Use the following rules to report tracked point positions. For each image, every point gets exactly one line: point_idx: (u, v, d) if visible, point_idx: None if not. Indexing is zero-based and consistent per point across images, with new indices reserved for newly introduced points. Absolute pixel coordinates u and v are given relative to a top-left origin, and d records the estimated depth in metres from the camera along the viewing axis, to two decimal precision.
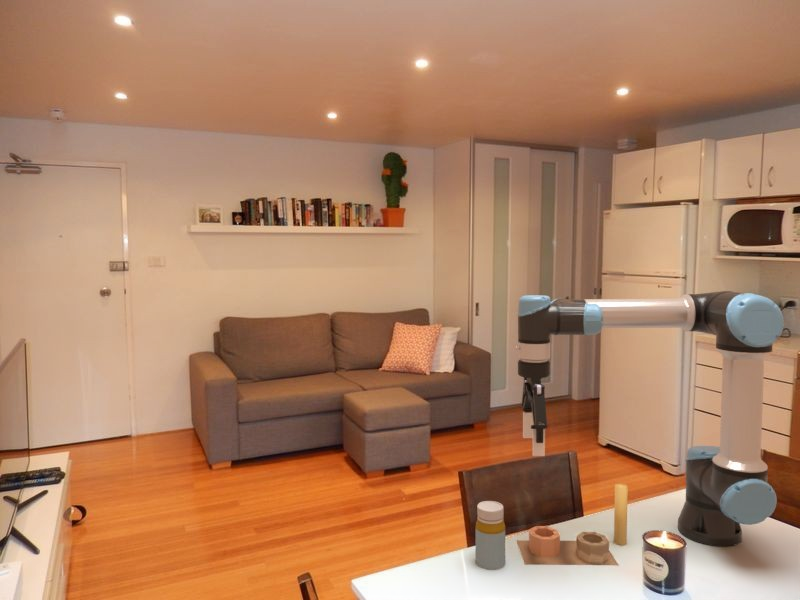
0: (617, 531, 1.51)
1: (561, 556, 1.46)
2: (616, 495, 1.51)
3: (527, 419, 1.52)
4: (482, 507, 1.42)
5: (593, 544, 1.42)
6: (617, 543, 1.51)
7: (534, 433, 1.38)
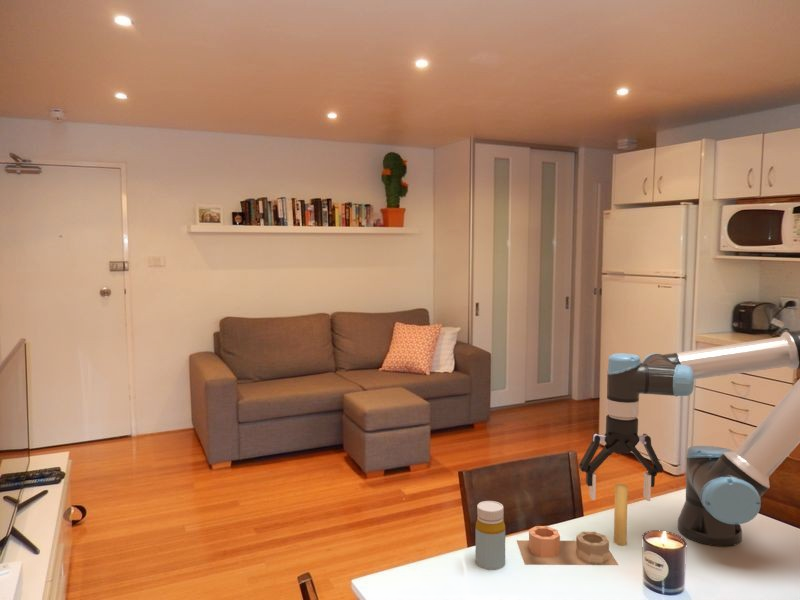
0: (617, 531, 1.51)
1: (561, 556, 1.46)
2: (616, 495, 1.51)
3: (645, 479, 1.51)
4: (482, 507, 1.42)
5: (593, 544, 1.42)
6: (617, 543, 1.51)
7: None
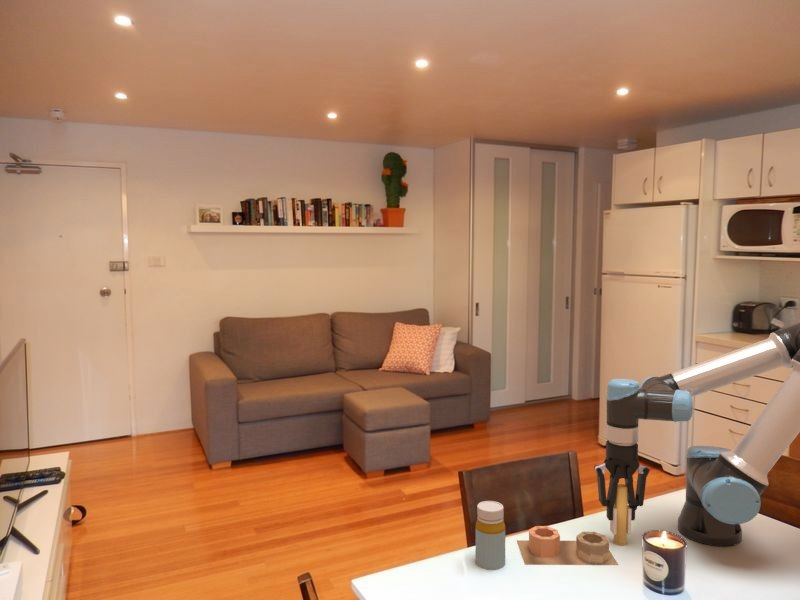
0: (617, 531, 1.51)
1: (561, 556, 1.46)
2: (616, 495, 1.51)
3: None
4: (482, 507, 1.42)
5: (593, 544, 1.42)
6: (617, 543, 1.51)
7: None
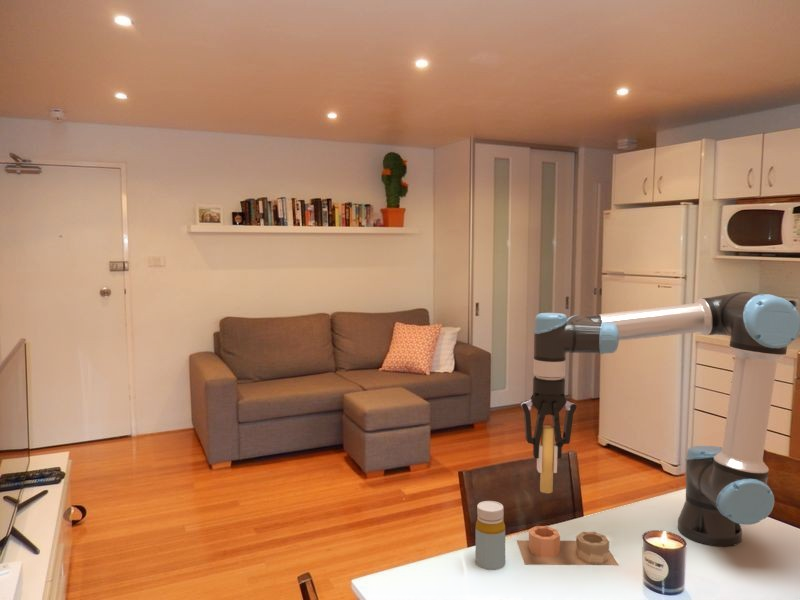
0: (543, 474, 1.47)
1: (561, 556, 1.46)
2: (542, 436, 1.47)
3: None
4: (482, 507, 1.42)
5: (593, 544, 1.42)
6: (543, 486, 1.47)
7: None
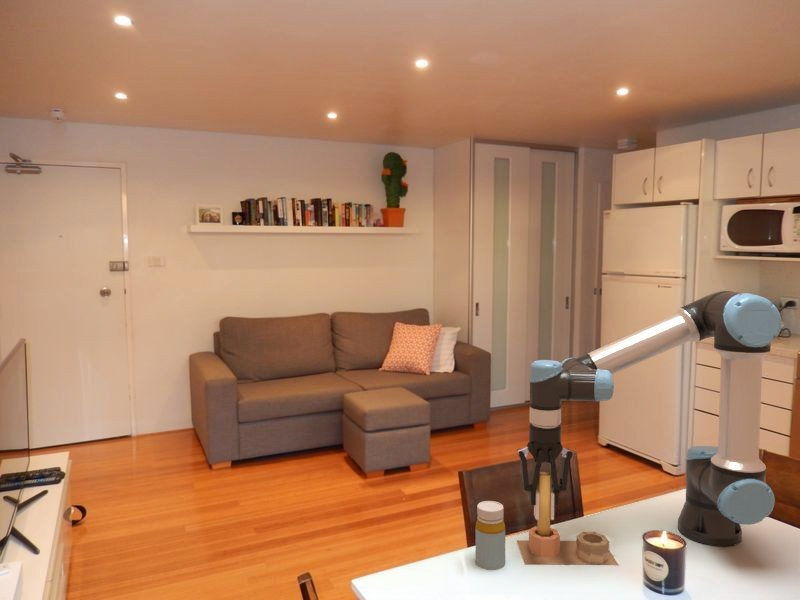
0: (540, 520, 1.47)
1: (561, 556, 1.46)
2: (539, 483, 1.47)
3: None
4: (482, 507, 1.42)
5: (593, 544, 1.42)
6: (540, 533, 1.48)
7: None
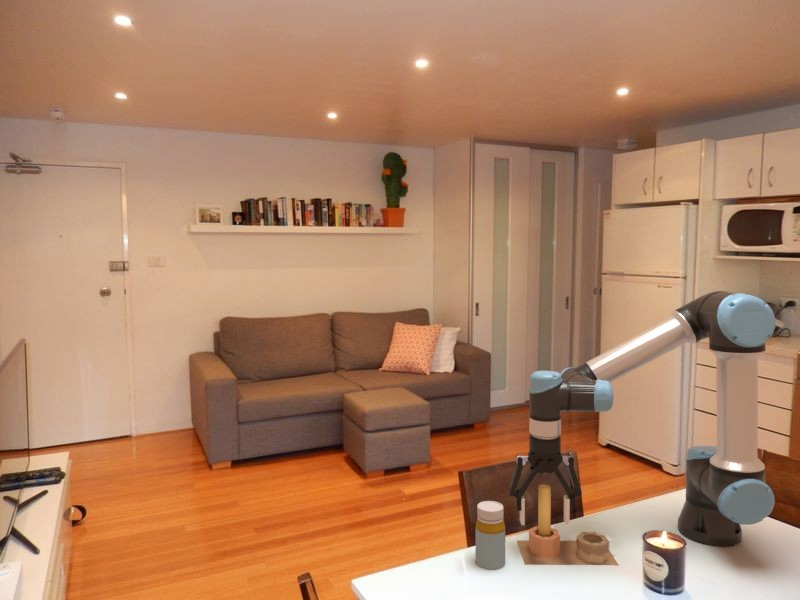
0: (540, 533, 1.48)
1: (561, 556, 1.46)
2: (539, 496, 1.47)
3: (564, 503, 1.48)
4: (482, 507, 1.42)
5: (593, 544, 1.42)
6: None
7: None
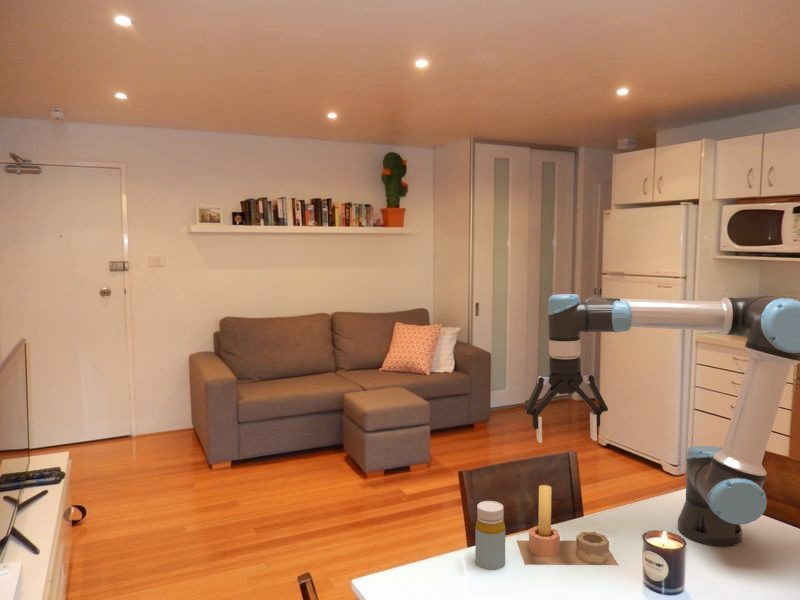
0: (541, 533, 1.48)
1: (561, 556, 1.46)
2: (540, 497, 1.47)
3: (591, 419, 1.51)
4: (482, 507, 1.42)
5: (593, 544, 1.42)
6: None
7: None
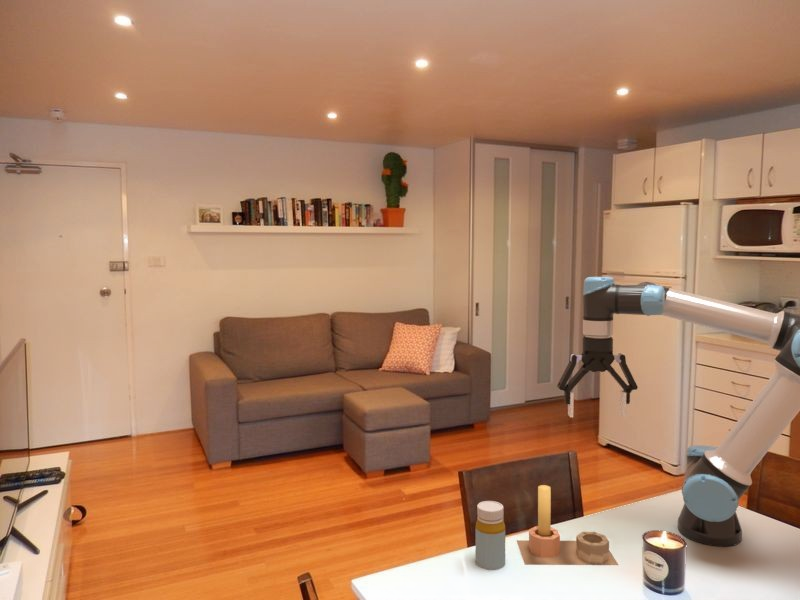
0: (540, 534, 1.48)
1: (561, 556, 1.46)
2: (539, 497, 1.47)
3: (621, 397, 1.58)
4: (482, 507, 1.42)
5: (593, 544, 1.42)
6: None
7: None
